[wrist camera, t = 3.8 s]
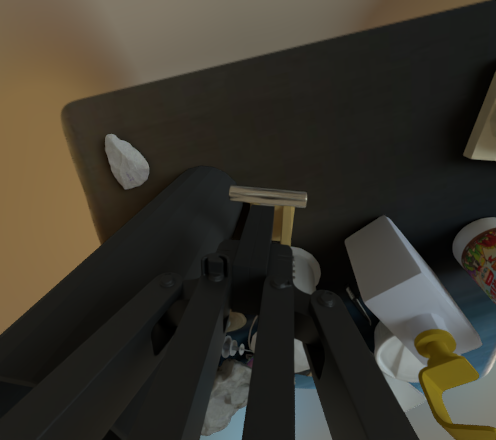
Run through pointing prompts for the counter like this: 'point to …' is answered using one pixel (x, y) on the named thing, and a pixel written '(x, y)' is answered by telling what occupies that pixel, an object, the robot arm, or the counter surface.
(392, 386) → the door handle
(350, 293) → the knife
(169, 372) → the robot arm
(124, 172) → the stone
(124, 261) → the vase
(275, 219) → the bracket
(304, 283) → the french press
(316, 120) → the counter surface
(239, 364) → the stone
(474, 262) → the milk bottle
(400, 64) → the counter surface
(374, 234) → the soap bottle
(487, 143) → the button block
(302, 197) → the lever
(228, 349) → the toy
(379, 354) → the ramekin
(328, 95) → the counter surface
